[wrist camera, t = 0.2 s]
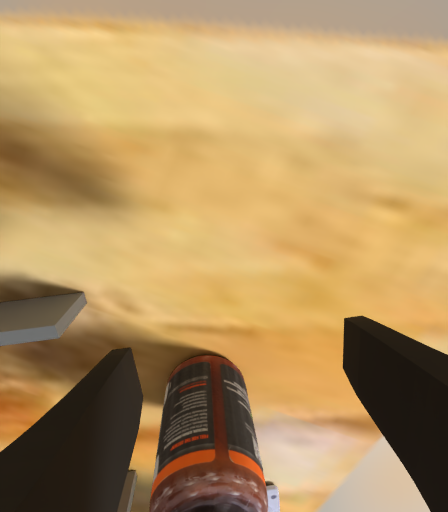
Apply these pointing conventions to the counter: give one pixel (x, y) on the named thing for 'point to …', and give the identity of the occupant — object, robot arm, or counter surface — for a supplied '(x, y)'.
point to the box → (44, 328)
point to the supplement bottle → (207, 443)
